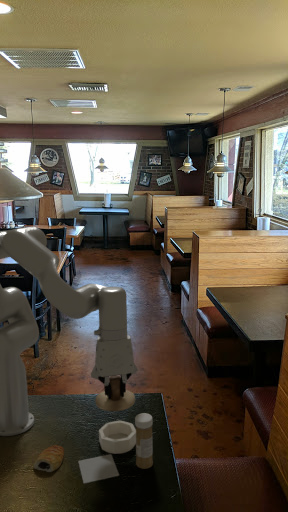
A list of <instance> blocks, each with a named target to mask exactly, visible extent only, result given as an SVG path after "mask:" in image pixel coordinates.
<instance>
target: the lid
mask: <svg viewBox="0 0 288 512" xmlns="http://www.w3.org/2000/svg"><path fill="white" fill-rule="evenodd" d="M120 378H121V377H120V375H116V376H109V383H110V385H111V399H108V397H107V395H105V391H104V390H103V391H101V392H100V393H98V394H97V395H96V397H95V405H96V407H97V408H99V409H100V410H101V411H102V410H103V411H106V412H121V411H124V410H127V409H129V408H131V407H132V406H133V405H134V404H135V403H136V396H135V394H134V393H133V392H132V391H130V390H127V389H126V392H125V393H124V397H121V389H120Z"/></svg>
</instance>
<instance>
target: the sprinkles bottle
mask: <svg viewBox="0 0 288 512" xmlns="http://www.w3.org/2000/svg"><path fill="white" fill-rule="evenodd" d="M134 426H135V429H136V444H135V457H136V459H135V460H136V461H135V464H136V467H138V468H139V469H142V470H143V469H144V470H145V469H150V468H152V466H153V464H154V461H153V453H154V451H153V445H154V444H153V416H152V415H151V414H149V413H145V412H142V413H139V414H136V416H135V417H134Z"/></svg>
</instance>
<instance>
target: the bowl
mask: <svg viewBox="0 0 288 512" xmlns="http://www.w3.org/2000/svg"><path fill="white" fill-rule="evenodd" d="M98 438H99V439H98V441H99V444H100V447H101V451H104V452H106V453H108V454H113V455H114V454H115V455H116V454H124V453H127V452H130V451H131V450H132V449H134V448H135V447H136V426H135V425H134V424H133V423H131V422H127V421H124V420H115V421H110V422H109V421H108V422H106V423H105V424H104V425H103V426H102V427H101V428H99V430H98Z"/></svg>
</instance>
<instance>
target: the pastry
mask: <svg viewBox="0 0 288 512" xmlns="http://www.w3.org/2000/svg"><path fill="white" fill-rule="evenodd" d="M64 455H65V449H64V447H63V446H60V445H58V444H54V445H51V446H48V447H47V448H44V449H43V450H41V451H40V454H38V455H37V456H36V458H35V462H34V464H33V468H34V470H38V471H43V472H44V471H45V472H47V473H52V472H54V471H56V470H58V469H59V468H60V467H61V465H62V463H63V460H64Z"/></svg>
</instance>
